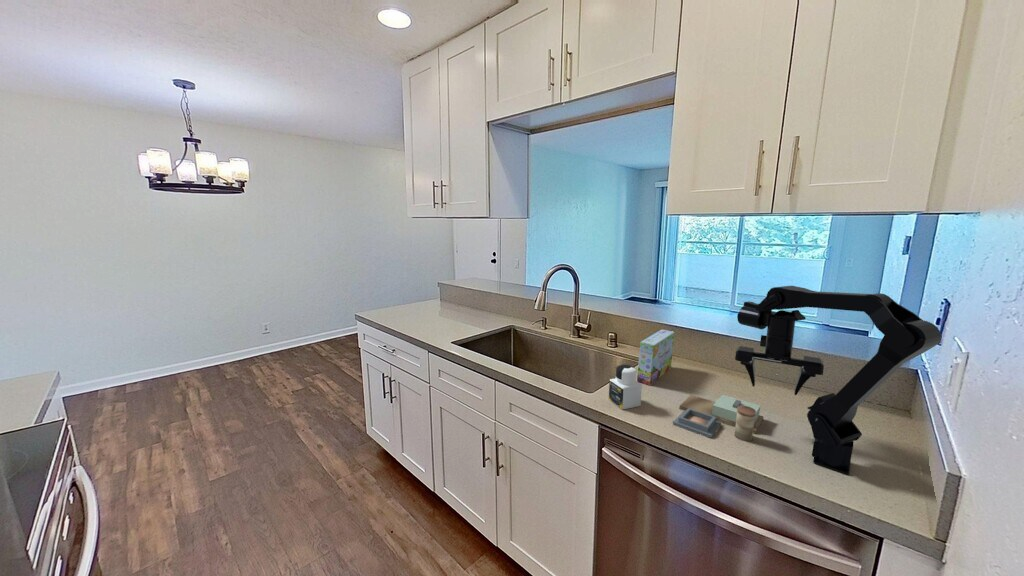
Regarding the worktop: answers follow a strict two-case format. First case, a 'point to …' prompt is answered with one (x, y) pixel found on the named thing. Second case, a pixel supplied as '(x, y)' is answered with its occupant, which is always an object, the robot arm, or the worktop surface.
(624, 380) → the medicine bottle
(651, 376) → the snack box
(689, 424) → the blue-grey square tray
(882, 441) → the worktop surface
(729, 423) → the board
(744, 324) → the robot arm
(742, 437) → the peg
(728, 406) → the cover
